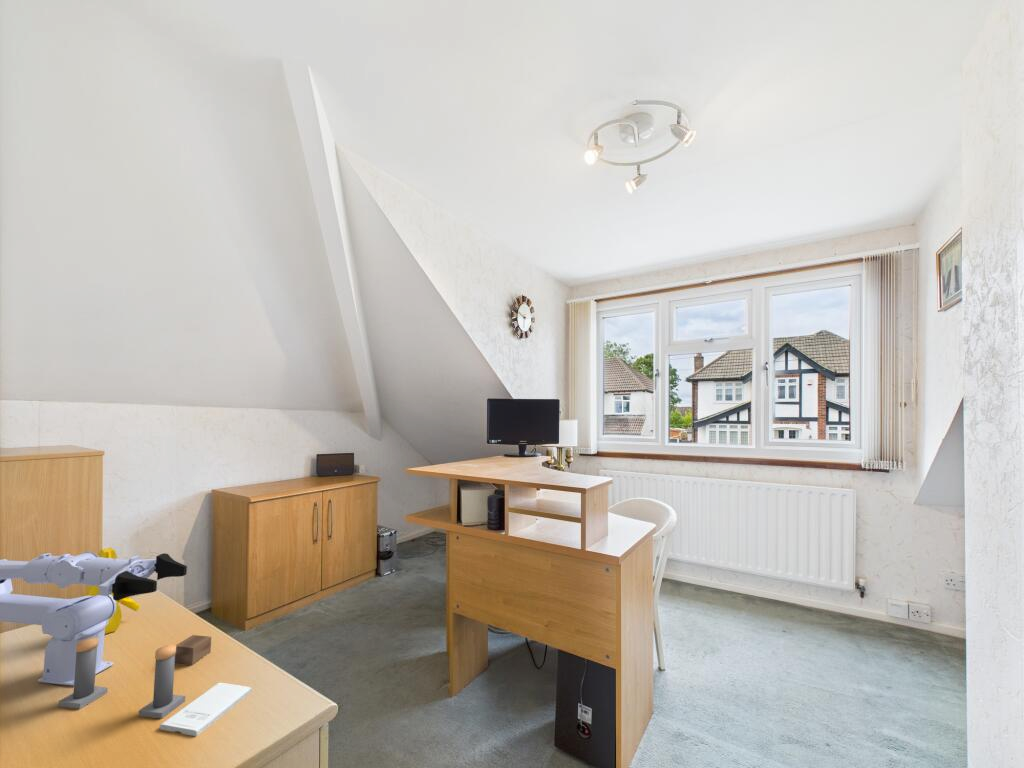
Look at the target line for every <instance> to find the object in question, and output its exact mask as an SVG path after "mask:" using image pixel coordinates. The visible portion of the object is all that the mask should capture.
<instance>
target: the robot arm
mask: <svg viewBox="0 0 1024 768" xmlns="http://www.w3.org/2000/svg"><path fill="white" fill-rule="evenodd" d="M140 558H141V557H140V555H134V556H132V557H130V558H129V559H121V558H117V559H113V558H102V557H99V556H98V554H96V553H95V552H92V551H91V552H90V551H85V552H81V553H80V554H78V555H77V554H76V555H71V554H70V553H64V554H61V555H52V553H49V552H47V553H42V554H39V555H38V556H37V557H34V558H32V559H30V561H27V560H8V559H7V558H2V559H0V622H5V623H13V624H14V623H15V624H16V623H17V624H27V625H36V626H41V631H42V634H44V635H50V636H51V638H50V640H49V641H48V642H47V644H46V647H45V648H44V649H45V651H44V658H43V671H42V673H43V674H42V677H39V679H37V682H38V683H45V684H55V685H63V686H71V687H72V686H73V687H74V678H75V665H76V644H77V643H78V642H80V641H82V640H85V639H88V638H98V646H97V657H96V671H95V675H97V674H99V673H101V672H103V671H104V670H106V669H108V668H110V667H111V666H113V665H114V662H113V661H105V660H104V646H105V645H104V644H105V635H106V634H105V626H106V625H108V623H109V619H110V618H111V617H112V616H113V615H114V613H115V611H116V601H118V600H121V599H123V598H126V597H129V598H131V597H133V596H138V595H139V596H140V595H145V594H146V595H147V594H150V593H151V594H152V593H155V592H156V591H157V588H158V587H157V585H158V581H159V580H161V579H165V578H170V577H171V578H172V577H173V578H174V577H177V578H178V577H185V576H186V575H187V570H188V566H187V565H185V564H182V563H181V562H178V561H177V560H175V559H173V557H171V556H170V554H169V553H160V554H159V555H156V558H149V559H140ZM154 572H155V574H157V578H156V580H155V579H151V578H149V577H151V576H152V575H153V574H154ZM13 579H14V580H17V579H22V580H23V581H24V582H25V583H27V584H37V585H38V584H39V585H41V584H54V585H57V586H58V589H65V588H68V587H69V586H71V585H73V584H75V585H86V586H89V585H93V586H99V594H98V595H95V596H83V595H82V596H83V597H82V596H80V597H79V596H78V597H72V598H60V597H59V598H58V597H47V596H41V595H40V596H39V595H38V596H37V595H27V594H17V593H12V592H13V591H14V588H13V584H12V580H13ZM111 593H113V596H112V595H110V594H111ZM115 600H116V601H115Z"/></svg>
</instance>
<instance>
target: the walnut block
mask: <svg viewBox="0 0 1024 768" xmlns="http://www.w3.org/2000/svg"><path fill="white" fill-rule="evenodd" d="M175 645H176V654H175V665H183V666H185V665H186V666H194V665H195V664H196V662H197V663H198V662H200V661H201V660H203V659H204V658H205V657H204V656H206V655H207V654H209V653H210V654H211V649H212V648H211V647H212V636H209V635H208V636H207V635H197V634H196V635H195V634H192V635H191V636H189V637H186V638H185V639H184V640H182V641H181V642H178V643H177V644H175ZM210 654H209V655H210ZM207 656H208V655H207ZM207 656H206V657H207ZM203 657H204V658H203ZM202 658H203V659H202ZM200 659H201V660H200ZM199 660H200V661H199Z"/></svg>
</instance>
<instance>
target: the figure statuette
mask: <svg viewBox="0 0 1024 768" xmlns="http://www.w3.org/2000/svg"><path fill="white" fill-rule="evenodd" d="M97 555H98V556H99V557H102V558H113V559H118V556H117V554H116V551H115V550H114V548H112V547H106V548H102V549H100V550H99V552H98V554H97ZM87 586H88V587H87V588H86V589H85V593H84V595H82V596H81V597H83V596H95V595H98V594H99V586H93V585H87ZM110 595H112V596H113V593H111V594H110ZM115 601H116V600H115ZM119 603H120V604H121V605H123V606H125V607H126V608H128V609H131V610H133V611H135V612H137V611H138V610H139V609H140V608H141V605H140V604H138V603H137V602H136V601H135V600H133V599H132V598H131V597H126V598H123V599H121V600H118V601H116V611H115V613H114V615H113V616H112V617H111V618H110V619H109V623H108V625H106V626H105V635H107V634H109V633H113V632H115V631H117V630H118V628H119V627H120V625H121V622H122V618H123V617H122V616H123V615H122V613H123V612H122V609H121V606H120V604H119Z"/></svg>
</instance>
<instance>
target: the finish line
mask: <svg viewBox="0 0 1024 768" xmlns="http://www.w3.org/2000/svg"><path fill="white" fill-rule="evenodd" d="M176 645H177V644H167V645H163V646H161V647H159V648H157V649H156V650H155V652H154V653H155V654H154V655H155V656H154V659H155V663H154V666H155V667H154V681H153V683H154V684H153V696H152V701H151V702H149V703H147V704H145V706H143V707H142V708H140V709H139V710H138V716H139V717H143V718H144V717H145V718H152V719H164V717H166V716H167V715H168V714H170V713H172V711H174V710H175V709H176V708H177V707H179V706H181V705H182V704H183V703H184V702H185V701H186V695H181V694H174V682H175V679H174V678H175V665H176V664H175V654H176ZM97 646H98V638H88V639H85V640H82V641H80V642H78V643H77V644H76V665H75V678H74V686H73V691H72V693H71V694H69V695H67V696H65V697H64V698H62V699H60V700H58V701H57V702H58V704H57V705H58V708H59V707H60V708H68V709H75V710H77V709H78V710H81V709H82V708H84V707H86V706H87V704H88V705H90V703H92V702H95V700H97V699H99V698H101V697H102V696H104V695H105V694H107V693H108V690H109V689H108V688H109V687H108V686H107V687H106V686H97V685H96V686H95V683H96V682H95V681H96V674H95V671H96V657H97Z"/></svg>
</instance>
